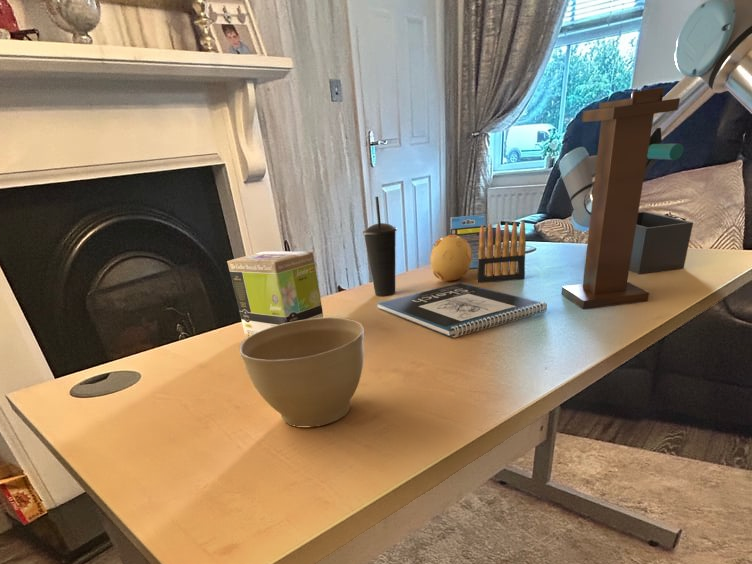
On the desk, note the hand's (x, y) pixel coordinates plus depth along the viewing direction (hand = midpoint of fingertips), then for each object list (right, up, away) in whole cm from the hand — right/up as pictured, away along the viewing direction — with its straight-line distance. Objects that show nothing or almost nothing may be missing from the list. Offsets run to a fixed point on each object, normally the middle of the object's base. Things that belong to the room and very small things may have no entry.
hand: (653, 135), depth 111 cm
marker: (+1, -5, 0) cm, 5 cm away
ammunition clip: (-29, -25, +13) cm, 40 cm away
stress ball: (-40, -23, +18) cm, 49 cm away
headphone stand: (-14, -37, -8) cm, 41 cm away
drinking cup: (-56, -27, +15) cm, 64 cm away
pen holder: (+3, -21, +12) cm, 24 cm away
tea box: (-77, -43, -3) cm, 88 cm away
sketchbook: (-42, -38, -3) cm, 57 cm away
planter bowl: (-67, -66, -37) cm, 101 cm away
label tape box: (-34, -15, +27) cm, 46 cm away
